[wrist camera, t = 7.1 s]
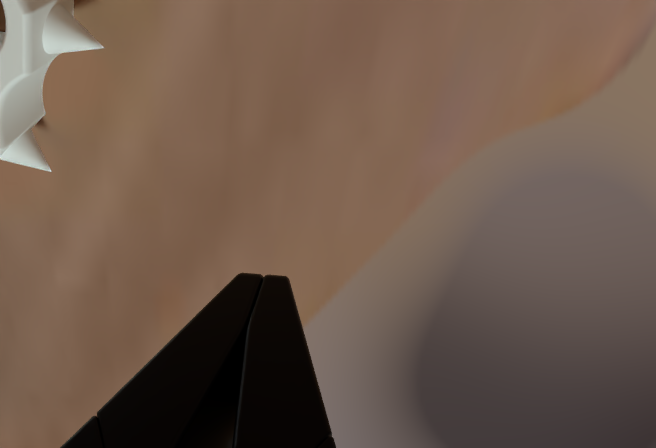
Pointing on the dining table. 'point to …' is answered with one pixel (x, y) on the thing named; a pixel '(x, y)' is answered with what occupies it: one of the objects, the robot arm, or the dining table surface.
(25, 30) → the white spiky piece
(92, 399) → the dining table surface
